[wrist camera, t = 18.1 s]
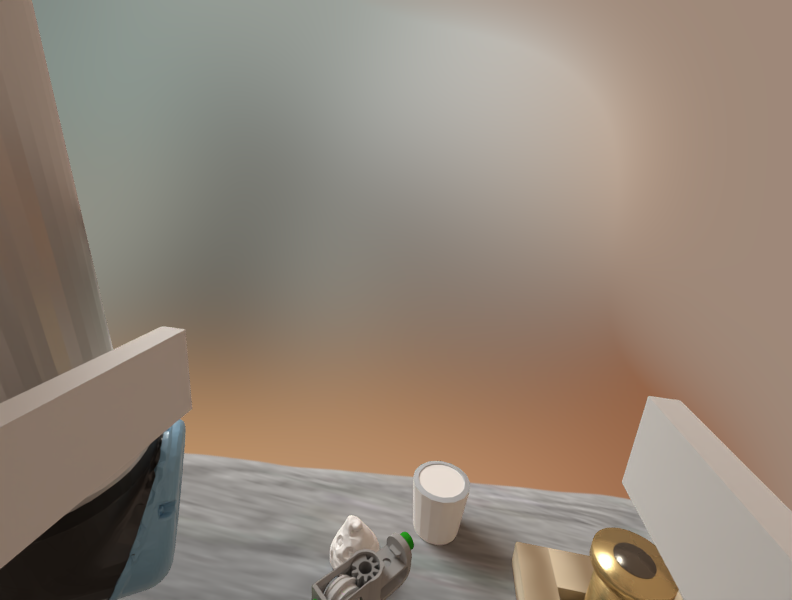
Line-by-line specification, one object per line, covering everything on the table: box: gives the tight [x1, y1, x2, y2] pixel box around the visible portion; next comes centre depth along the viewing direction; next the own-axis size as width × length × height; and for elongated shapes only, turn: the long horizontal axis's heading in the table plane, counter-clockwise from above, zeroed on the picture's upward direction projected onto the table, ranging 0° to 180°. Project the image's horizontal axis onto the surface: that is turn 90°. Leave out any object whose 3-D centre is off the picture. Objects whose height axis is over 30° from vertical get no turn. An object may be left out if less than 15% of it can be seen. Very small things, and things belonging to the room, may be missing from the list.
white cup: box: [413, 461, 470, 545], centre depth 48 cm, size 7×7×7 cm
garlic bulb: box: [330, 515, 380, 576], centre depth 43 cm, size 6×6×5 cm
